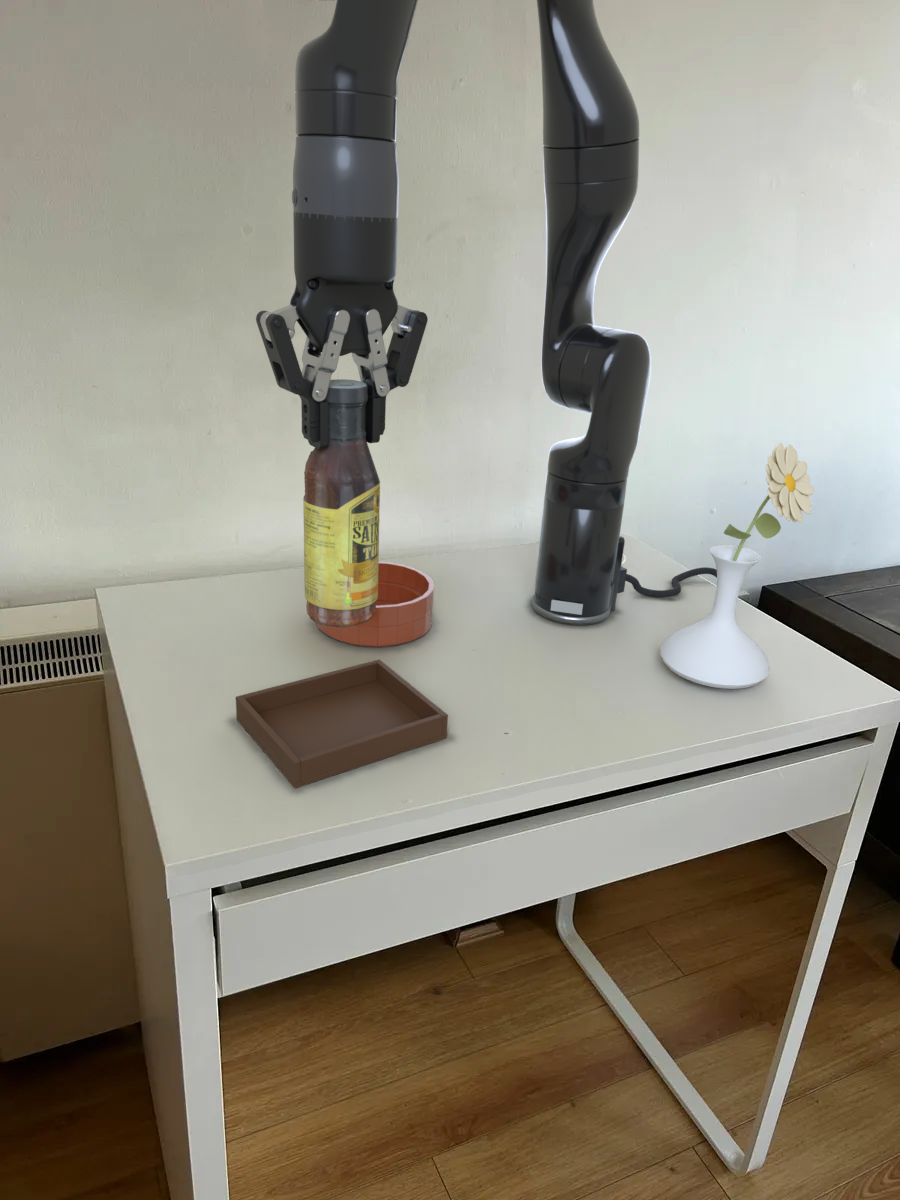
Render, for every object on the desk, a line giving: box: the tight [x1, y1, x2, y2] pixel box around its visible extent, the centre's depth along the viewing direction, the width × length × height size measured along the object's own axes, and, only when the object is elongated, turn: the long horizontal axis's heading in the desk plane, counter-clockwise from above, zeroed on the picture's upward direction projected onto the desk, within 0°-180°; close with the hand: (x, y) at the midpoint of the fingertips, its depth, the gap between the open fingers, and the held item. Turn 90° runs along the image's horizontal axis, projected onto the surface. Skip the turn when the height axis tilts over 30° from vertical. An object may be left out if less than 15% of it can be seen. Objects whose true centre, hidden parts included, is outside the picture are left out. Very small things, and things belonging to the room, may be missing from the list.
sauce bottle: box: [302, 378, 381, 627], centre depth 74 cm, size 6×6×20 cm
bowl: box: [315, 561, 435, 648], centre depth 102 cm, size 13×13×5 cm
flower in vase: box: [659, 442, 815, 690], centre depth 92 cm, size 13×11×25 cm
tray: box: [235, 659, 449, 789], centre depth 82 cm, size 15×12×2 cm
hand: (344, 442), depth 72 cm, fingers closed on sauce bottle, 4 cm apart
